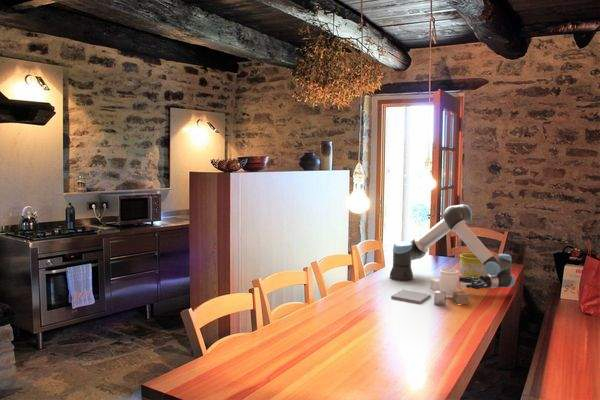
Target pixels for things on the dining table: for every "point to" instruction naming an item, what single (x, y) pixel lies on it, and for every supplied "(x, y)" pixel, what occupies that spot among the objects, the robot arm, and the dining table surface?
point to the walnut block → (460, 297)
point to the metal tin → (440, 298)
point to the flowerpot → (471, 266)
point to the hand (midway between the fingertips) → (454, 282)
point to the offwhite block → (435, 284)
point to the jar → (448, 281)
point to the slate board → (411, 296)
